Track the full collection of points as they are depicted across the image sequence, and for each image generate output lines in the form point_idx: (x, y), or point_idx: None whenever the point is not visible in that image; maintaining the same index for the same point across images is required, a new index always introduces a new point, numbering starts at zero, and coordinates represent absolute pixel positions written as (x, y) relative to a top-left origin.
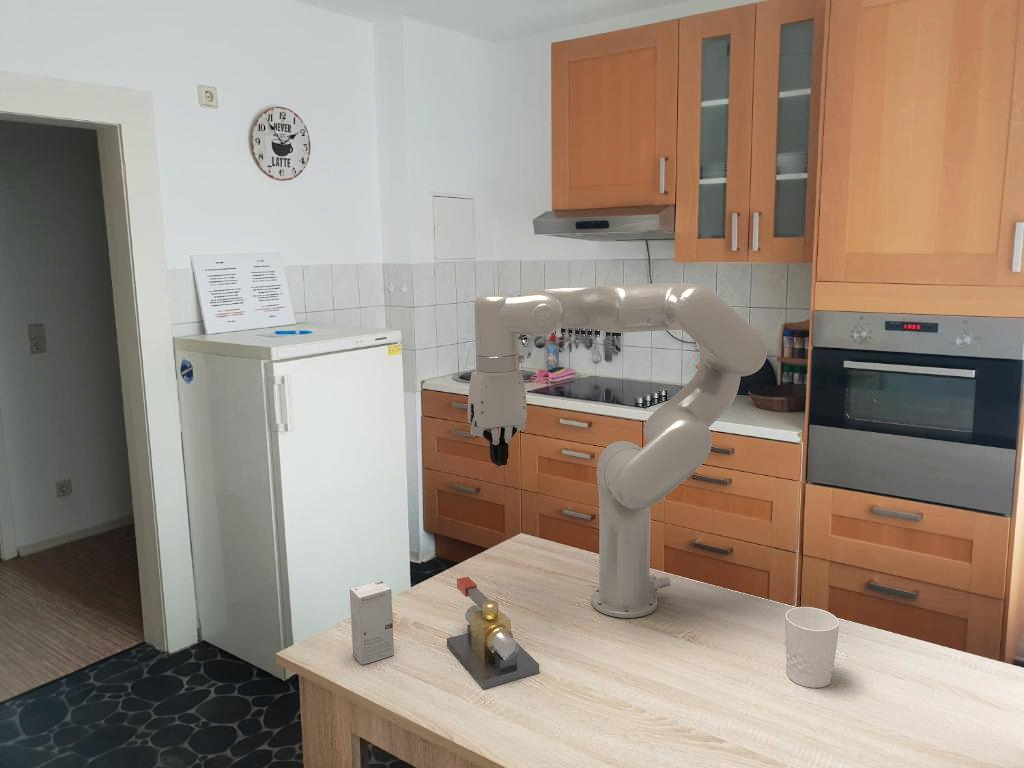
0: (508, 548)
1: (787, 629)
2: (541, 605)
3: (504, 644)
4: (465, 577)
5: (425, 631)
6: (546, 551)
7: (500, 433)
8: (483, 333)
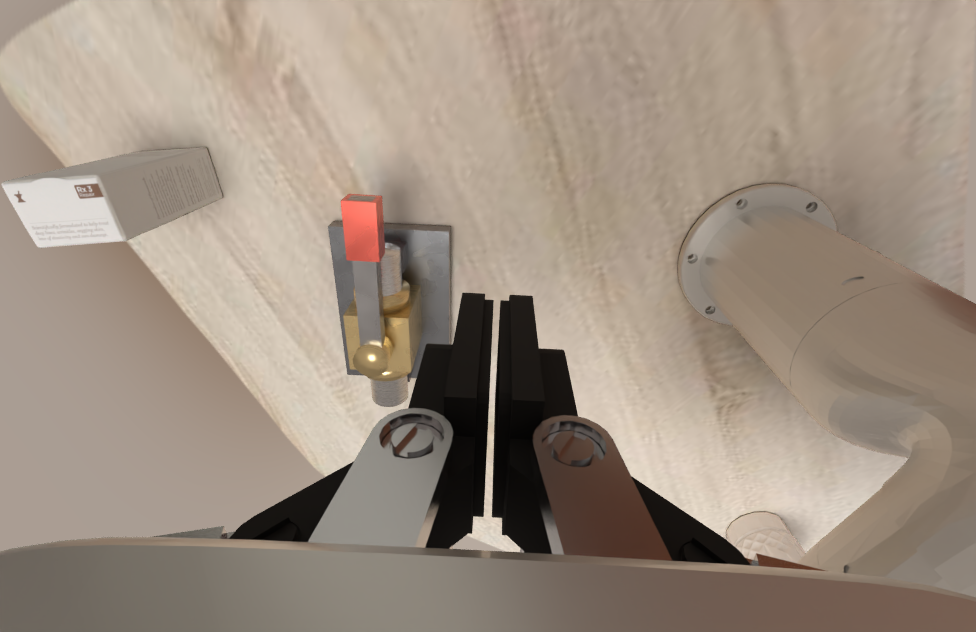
0: None
1: None
2: (598, 165)
3: (377, 403)
4: (367, 203)
5: (306, 134)
6: None
7: (545, 512)
8: None
